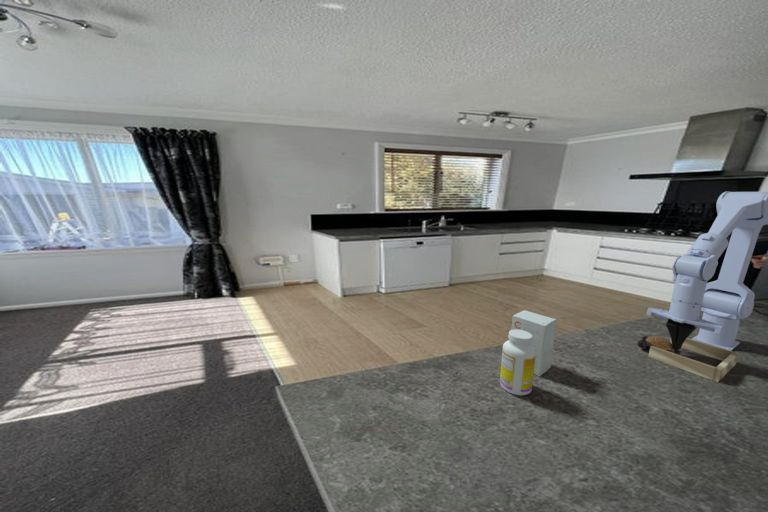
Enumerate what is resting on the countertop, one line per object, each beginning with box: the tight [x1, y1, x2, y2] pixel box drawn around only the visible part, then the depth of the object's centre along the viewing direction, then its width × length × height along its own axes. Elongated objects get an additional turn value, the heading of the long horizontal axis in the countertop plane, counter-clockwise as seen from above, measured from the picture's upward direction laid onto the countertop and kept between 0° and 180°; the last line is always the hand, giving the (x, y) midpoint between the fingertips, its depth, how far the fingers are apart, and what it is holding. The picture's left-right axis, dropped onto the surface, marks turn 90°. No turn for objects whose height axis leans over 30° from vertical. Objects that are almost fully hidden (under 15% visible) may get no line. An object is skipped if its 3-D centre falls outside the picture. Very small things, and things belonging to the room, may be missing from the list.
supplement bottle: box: [499, 329, 536, 396], centre depth 66 cm, size 7×7×13 cm
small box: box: [510, 309, 557, 377], centre depth 75 cm, size 8×6×13 cm
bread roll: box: [637, 335, 678, 354], centre depth 86 cm, size 11×8×4 cm
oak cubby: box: [648, 337, 740, 383], centre depth 79 cm, size 16×13×3 cm
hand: (676, 348), depth 82 cm, fingers closed
